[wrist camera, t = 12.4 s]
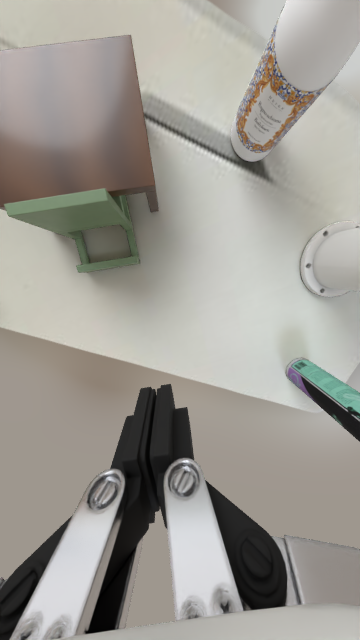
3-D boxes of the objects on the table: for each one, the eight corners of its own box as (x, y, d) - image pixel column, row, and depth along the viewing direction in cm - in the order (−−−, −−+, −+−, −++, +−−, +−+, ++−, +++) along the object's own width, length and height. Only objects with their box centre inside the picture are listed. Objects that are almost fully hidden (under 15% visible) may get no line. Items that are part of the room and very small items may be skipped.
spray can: (280, 376, 38) (397, 484, 19) (294, 354, 37) (432, 444, 18) (301, 384, 39) (433, 494, 20) (315, 362, 38) (469, 457, 19)
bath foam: (220, 144, 27) (359, -183, 7) (247, 93, 25) (501, -461, 6) (256, 173, 28) (454, -39, 9) (284, 127, 27) (587, -243, 8)
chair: (118, 160, 26) (74, 60, 14) (140, 263, 30) (121, 257, 18) (56, 170, 26) (-45, 77, 14) (86, 272, 30) (29, 273, 18)
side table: (142, 115, 25) (130, 34, 17) (158, 211, 28) (155, 185, 20) (19, 131, 25) (-60, 56, 16) (49, 227, 28) (-3, 207, 19)
